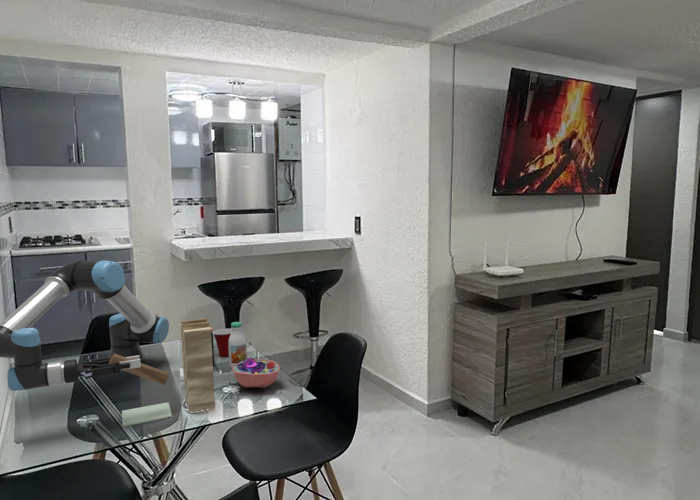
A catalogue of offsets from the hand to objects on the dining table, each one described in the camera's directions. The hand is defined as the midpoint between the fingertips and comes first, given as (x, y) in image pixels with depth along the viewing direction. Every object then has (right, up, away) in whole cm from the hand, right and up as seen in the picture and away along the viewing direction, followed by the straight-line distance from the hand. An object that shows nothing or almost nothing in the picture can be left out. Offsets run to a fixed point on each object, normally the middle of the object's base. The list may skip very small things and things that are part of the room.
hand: (140, 361), depth 180 cm
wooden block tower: (+18, -18, +11) cm, 28 cm away
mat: (+1, -20, +4) cm, 20 cm away
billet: (-1, -4, 0) cm, 5 cm away
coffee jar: (+9, -14, +46) cm, 49 cm away
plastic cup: (+14, -11, +64) cm, 67 cm away
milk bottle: (+24, -13, +49) cm, 56 cm away
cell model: (+36, -16, +27) cm, 48 cm away
